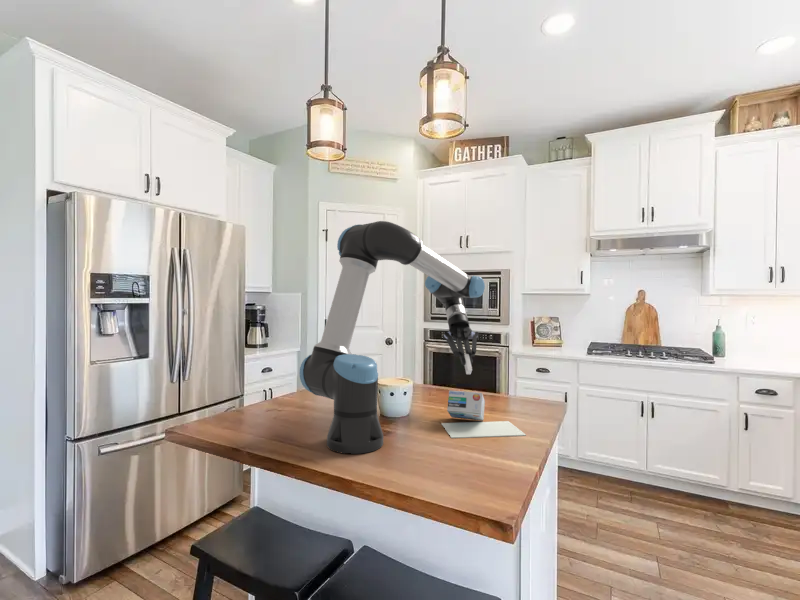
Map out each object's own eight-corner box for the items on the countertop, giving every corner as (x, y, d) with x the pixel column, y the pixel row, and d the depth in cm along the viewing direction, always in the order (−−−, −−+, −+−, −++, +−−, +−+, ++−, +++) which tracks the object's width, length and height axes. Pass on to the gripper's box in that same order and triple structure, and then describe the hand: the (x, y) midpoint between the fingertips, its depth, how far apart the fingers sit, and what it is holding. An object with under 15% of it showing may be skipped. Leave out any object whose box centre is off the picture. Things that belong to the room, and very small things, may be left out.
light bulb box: (451, 418, 137) (446, 411, 127) (453, 397, 139) (448, 389, 130) (484, 421, 133) (481, 414, 124) (485, 400, 136) (482, 392, 127)
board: (451, 438, 117) (451, 437, 117) (441, 424, 130) (441, 423, 130) (525, 435, 120) (525, 434, 120) (508, 422, 133) (508, 421, 133)
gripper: (472, 326, 159) (485, 378, 143) (439, 326, 158) (448, 378, 141) (476, 313, 154) (490, 365, 137) (442, 312, 152) (452, 365, 136)
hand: (469, 372), depth 139 cm, fingers closed
